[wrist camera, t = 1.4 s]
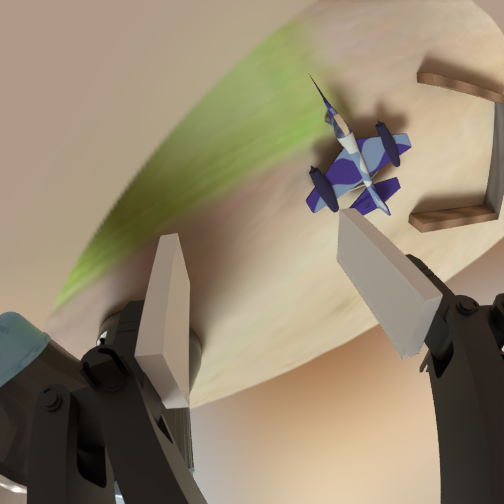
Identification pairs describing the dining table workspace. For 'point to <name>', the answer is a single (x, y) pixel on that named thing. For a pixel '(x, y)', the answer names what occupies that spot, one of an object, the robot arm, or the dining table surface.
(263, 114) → the dining table surface
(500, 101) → the frame
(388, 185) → the toy airplane
